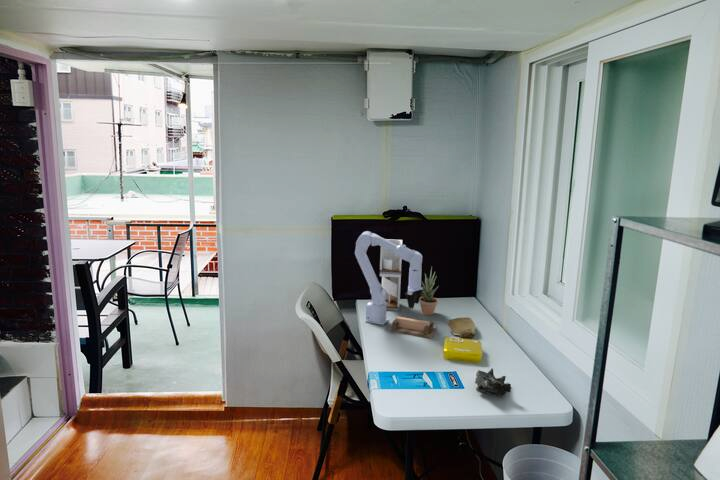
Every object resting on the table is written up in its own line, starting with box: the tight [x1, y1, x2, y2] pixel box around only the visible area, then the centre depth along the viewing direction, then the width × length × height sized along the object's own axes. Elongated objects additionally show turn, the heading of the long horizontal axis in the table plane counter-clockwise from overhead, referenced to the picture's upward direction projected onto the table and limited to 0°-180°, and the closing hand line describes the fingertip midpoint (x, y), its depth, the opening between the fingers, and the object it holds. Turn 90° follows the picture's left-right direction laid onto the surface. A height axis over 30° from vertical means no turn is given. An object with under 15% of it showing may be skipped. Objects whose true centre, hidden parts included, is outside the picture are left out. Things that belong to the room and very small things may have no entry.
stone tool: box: [447, 316, 477, 340], centre depth 230 cm, size 12×4×25 cm
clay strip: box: [394, 315, 430, 331], centre depth 228 cm, size 16×2×4 cm, turn 66°
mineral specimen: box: [474, 368, 512, 397], centre depth 174 cm, size 15×13×10 cm
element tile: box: [443, 336, 483, 364], centre depth 205 cm, size 15×15×5 cm
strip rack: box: [387, 315, 437, 339], centre depth 229 cm, size 20×10×4 cm, turn 66°
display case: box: [379, 238, 403, 312], centre depth 258 cm, size 11×11×35 cm
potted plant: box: [419, 266, 439, 316], centre depth 251 cm, size 10×10×25 cm
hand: (413, 305), depth 235 cm, fingers open, 7 cm apart
